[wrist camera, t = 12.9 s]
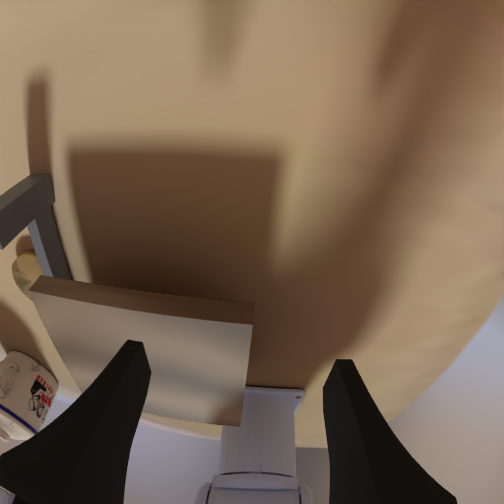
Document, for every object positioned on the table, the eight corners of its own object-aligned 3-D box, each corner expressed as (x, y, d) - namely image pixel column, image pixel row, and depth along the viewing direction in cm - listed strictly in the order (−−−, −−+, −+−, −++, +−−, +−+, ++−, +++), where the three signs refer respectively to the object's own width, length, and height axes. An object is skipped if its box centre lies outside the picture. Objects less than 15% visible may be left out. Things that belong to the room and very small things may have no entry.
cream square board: (244, 366, 26) (240, 426, 21) (99, 344, 26) (77, 395, 21) (257, 253, 19) (253, 324, 14) (64, 235, 19) (19, 288, 14)
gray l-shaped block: (86, 309, 23) (57, 363, 18) (68, 305, 23) (38, 357, 18) (49, 173, 17) (-8, 217, 12) (29, 175, 17) (-27, 217, 12)
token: (71, 298, 23) (64, 310, 22) (31, 290, 23) (23, 301, 22) (55, 250, 21) (46, 261, 19) (14, 245, 21) (4, 255, 19)
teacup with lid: (67, 397, 35) (42, 464, 25) (19, 376, 34) (-9, 436, 24) (45, 349, 28) (5, 432, 18) (-8, 324, 27) (-51, 394, 18)
